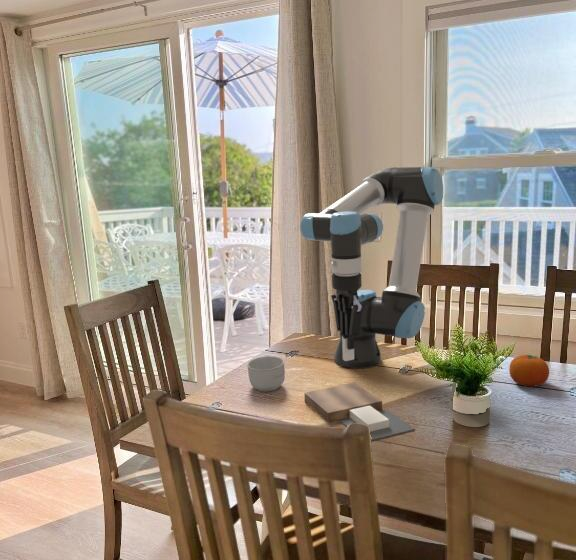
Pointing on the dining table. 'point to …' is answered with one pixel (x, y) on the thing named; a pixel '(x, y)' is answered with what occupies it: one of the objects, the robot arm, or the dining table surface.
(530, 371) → the fruit
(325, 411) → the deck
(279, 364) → the teacup
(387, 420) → the white rectangular block
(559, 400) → the dining table surface
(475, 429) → the dining table surface
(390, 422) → the mat
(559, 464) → the dining table surface
